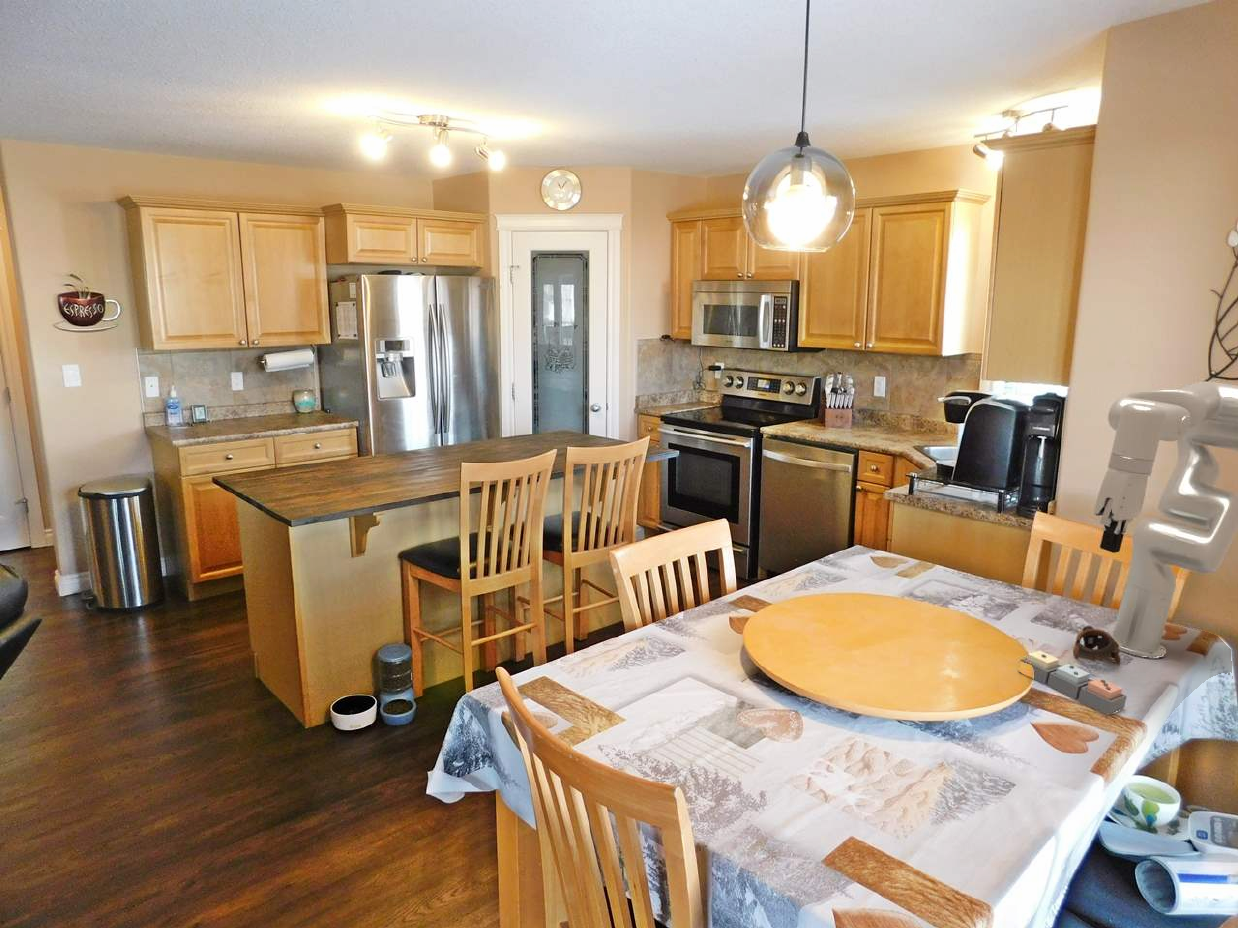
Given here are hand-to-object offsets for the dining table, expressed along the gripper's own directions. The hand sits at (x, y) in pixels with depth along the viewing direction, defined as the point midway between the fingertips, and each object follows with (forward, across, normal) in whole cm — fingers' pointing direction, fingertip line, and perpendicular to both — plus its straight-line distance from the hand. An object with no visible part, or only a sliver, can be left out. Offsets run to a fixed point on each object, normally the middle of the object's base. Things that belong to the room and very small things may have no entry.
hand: (1109, 550), depth 167 cm
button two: (+29, +8, +3) cm, 30 cm away
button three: (+29, +8, +9) cm, 31 cm away
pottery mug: (+29, -13, -4) cm, 32 cm away
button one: (+29, +8, -4) cm, 30 cm away
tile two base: (+29, +8, +2) cm, 30 cm away
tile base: (+29, +8, +9) cm, 31 cm away
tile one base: (+29, +8, -4) cm, 30 cm away
